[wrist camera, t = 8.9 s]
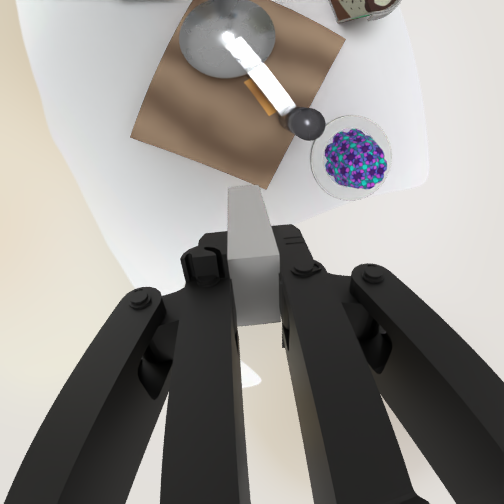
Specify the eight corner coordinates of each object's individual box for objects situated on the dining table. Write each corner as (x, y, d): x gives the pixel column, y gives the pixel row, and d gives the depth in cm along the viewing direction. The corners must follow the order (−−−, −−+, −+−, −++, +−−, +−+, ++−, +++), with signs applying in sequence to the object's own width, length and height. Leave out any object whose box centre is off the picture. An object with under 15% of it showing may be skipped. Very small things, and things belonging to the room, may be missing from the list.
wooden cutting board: (207, -16, 22) (206, -22, 20) (339, 41, 27) (346, 39, 25) (135, 135, 32) (129, 137, 30) (264, 184, 37) (266, 190, 35)
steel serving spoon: (164, 36, 24) (145, 20, 17) (236, -12, 21) (239, -40, 14) (263, 152, 32) (273, 168, 25) (332, 106, 29) (360, 110, 23)
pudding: (320, 208, 39) (331, 224, 35) (299, 125, 33) (310, 130, 29) (393, 187, 38) (411, 200, 34) (381, 108, 32) (401, 111, 28)
